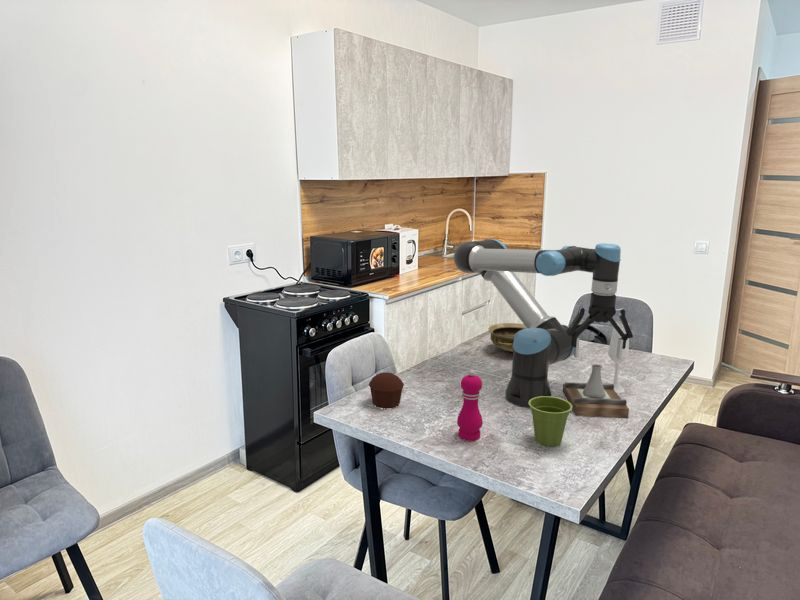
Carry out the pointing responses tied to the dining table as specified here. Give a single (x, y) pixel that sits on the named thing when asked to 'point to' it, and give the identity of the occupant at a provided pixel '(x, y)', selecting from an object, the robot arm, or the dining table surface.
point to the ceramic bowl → (505, 335)
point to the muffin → (386, 390)
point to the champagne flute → (613, 352)
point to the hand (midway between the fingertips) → (597, 357)
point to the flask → (595, 383)
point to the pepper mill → (470, 408)
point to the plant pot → (549, 419)
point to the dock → (595, 402)
